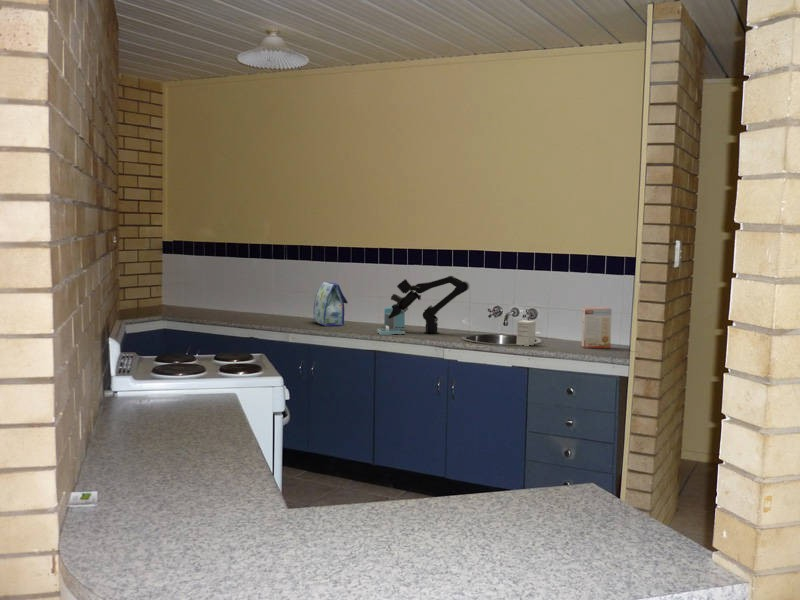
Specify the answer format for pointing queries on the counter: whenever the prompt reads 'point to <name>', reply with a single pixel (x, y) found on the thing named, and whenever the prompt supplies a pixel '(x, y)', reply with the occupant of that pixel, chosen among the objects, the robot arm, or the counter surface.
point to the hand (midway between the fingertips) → (390, 317)
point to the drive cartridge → (390, 321)
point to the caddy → (389, 331)
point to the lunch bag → (329, 305)
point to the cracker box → (596, 327)
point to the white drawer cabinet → (525, 332)
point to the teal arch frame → (399, 318)
